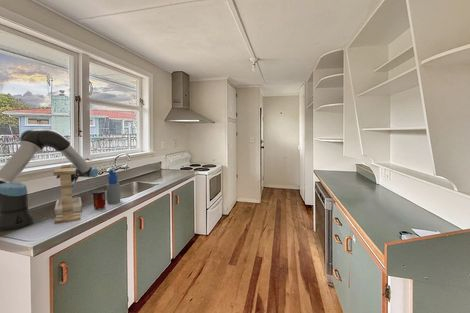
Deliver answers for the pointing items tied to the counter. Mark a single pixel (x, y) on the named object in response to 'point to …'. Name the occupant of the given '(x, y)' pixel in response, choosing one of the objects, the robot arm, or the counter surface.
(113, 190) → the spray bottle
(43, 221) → the counter surface
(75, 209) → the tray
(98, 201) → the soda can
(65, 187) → the stand
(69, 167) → the wooden block
